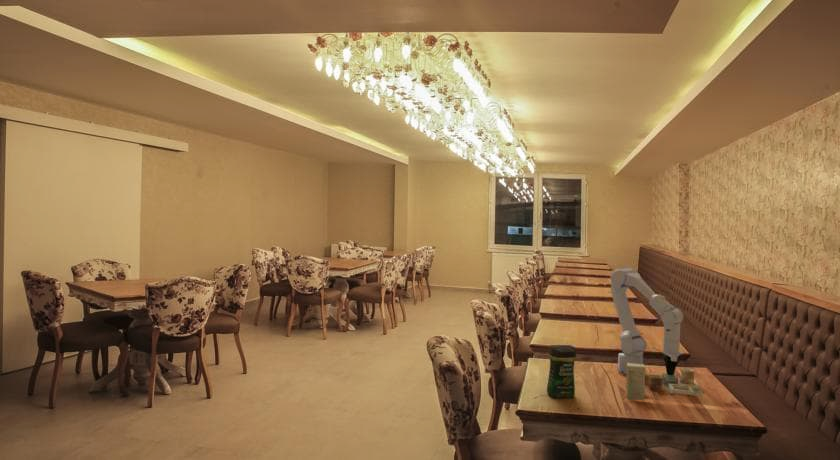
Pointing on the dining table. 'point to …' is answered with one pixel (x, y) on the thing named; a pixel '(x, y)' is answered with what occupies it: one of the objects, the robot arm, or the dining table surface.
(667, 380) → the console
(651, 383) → the walnut block
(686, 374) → the beech block
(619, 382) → the dining table surface
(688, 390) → the grey compartment tray
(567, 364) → the coffee jar
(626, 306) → the robot arm
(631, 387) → the skincare box
